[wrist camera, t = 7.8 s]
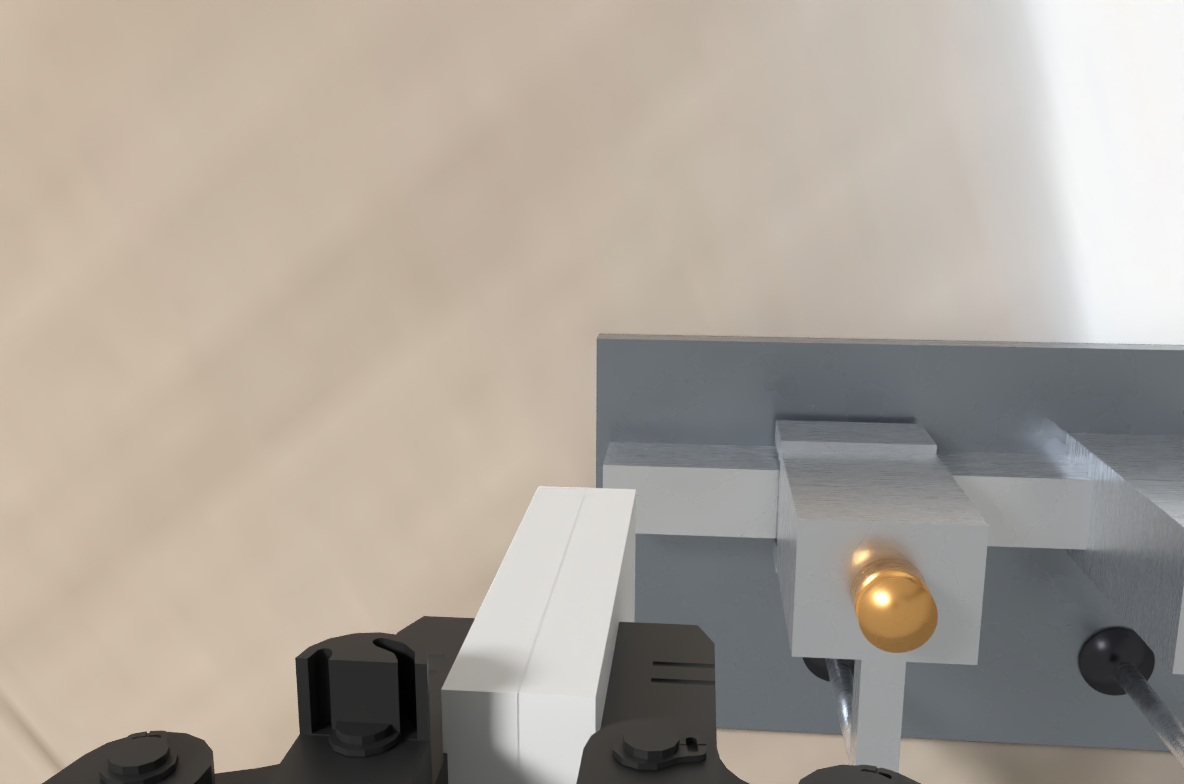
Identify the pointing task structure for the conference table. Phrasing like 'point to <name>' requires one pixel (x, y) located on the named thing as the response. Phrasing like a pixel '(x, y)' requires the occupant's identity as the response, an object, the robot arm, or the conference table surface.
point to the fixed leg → (1138, 552)
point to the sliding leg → (875, 567)
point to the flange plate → (951, 418)
